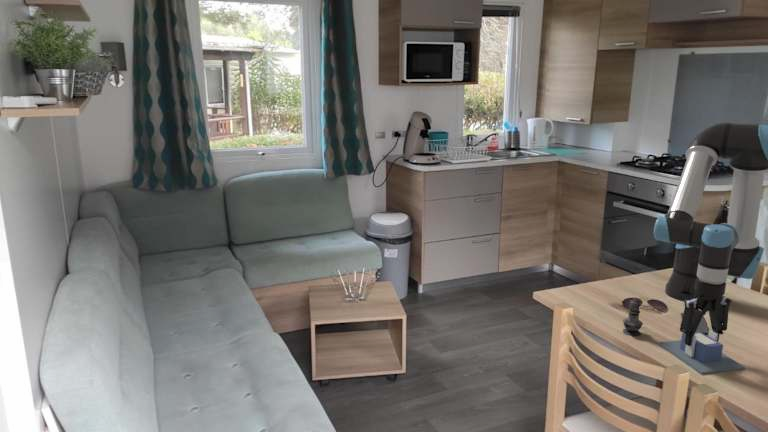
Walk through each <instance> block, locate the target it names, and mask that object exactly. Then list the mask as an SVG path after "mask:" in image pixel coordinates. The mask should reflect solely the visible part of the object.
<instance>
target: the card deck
mask: <svg viewBox="0 0 768 432" xmlns="http://www.w3.org/2000/svg"><path fill="white" fill-rule="evenodd" d="M694 335H695V336H697V337H696V343H695V350H694V358H696V359H697V360H699V361H700V362H702V363H709V362H715V361H721V356H722V353H723V350H724V349H723V348H724V344H723V343H721V342H719V341H716V340H714V339H712V338H711V337H709V336H708V335H705V334H704V333H702V332H700V331H696V332H695V334H694ZM685 336H686V334H684V333H683V332H681V339H680V340H681V346H680V349H681V350H683V351H685V347H686V344H685Z"/></svg>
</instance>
